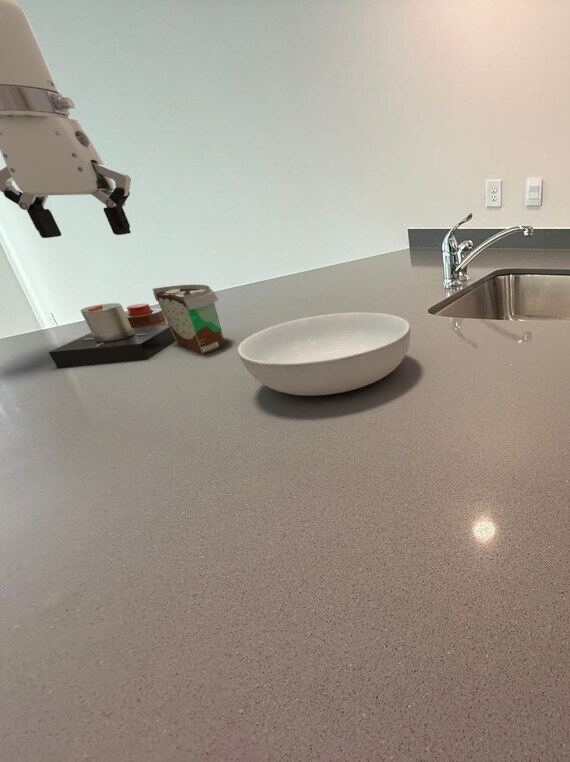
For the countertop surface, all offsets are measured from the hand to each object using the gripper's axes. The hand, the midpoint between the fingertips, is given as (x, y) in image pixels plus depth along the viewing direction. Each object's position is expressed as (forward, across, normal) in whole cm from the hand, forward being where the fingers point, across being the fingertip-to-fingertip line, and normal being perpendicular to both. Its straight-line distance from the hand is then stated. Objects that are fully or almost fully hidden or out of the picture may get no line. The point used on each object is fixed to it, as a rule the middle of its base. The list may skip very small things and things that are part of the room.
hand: (88, 235), depth 65 cm
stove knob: (+15, -1, +6) cm, 16 cm away
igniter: (+18, +1, -6) cm, 19 cm away
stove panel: (+18, -1, +6) cm, 19 cm away
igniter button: (+15, +1, -6) cm, 16 cm away
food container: (+18, -14, +6) cm, 24 cm away
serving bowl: (+18, -39, +26) cm, 50 cm away
